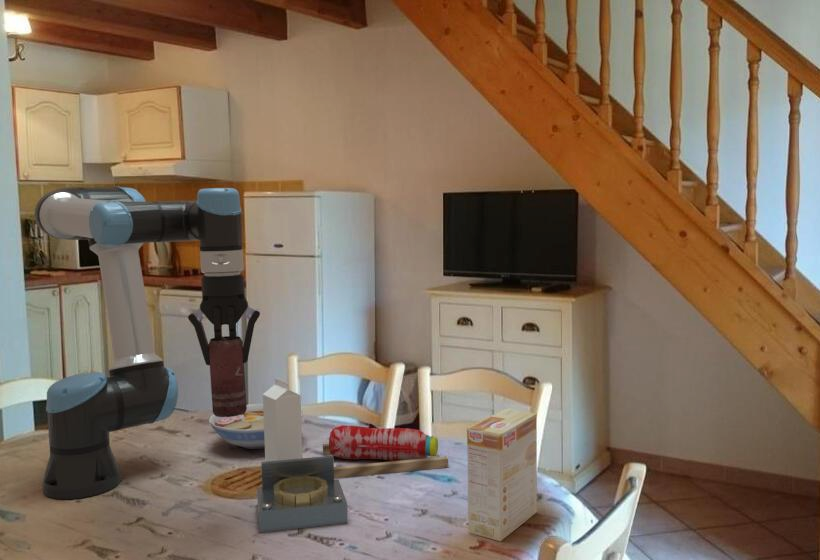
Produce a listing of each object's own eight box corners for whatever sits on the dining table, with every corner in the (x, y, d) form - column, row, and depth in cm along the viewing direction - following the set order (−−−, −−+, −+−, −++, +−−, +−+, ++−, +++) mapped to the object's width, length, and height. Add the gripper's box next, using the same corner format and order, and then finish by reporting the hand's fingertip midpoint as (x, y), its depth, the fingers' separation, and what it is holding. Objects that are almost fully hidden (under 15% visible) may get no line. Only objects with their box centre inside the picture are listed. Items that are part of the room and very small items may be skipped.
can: (233, 407, 142) (228, 334, 141) (253, 411, 138) (249, 336, 137) (205, 414, 138) (200, 338, 136) (225, 419, 133) (220, 341, 132)
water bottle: (341, 419, 183) (442, 424, 178) (340, 452, 182) (442, 458, 178) (326, 426, 171) (435, 431, 166) (325, 461, 170) (434, 467, 166)
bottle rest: (331, 478, 162) (331, 469, 161) (322, 452, 179) (322, 444, 178) (448, 467, 167) (448, 458, 167) (428, 443, 184) (428, 435, 184)
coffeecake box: (505, 504, 147) (505, 407, 145) (538, 512, 143) (538, 412, 140) (465, 532, 134) (465, 427, 132) (501, 542, 130) (501, 433, 128)
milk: (278, 488, 157) (274, 385, 154) (265, 479, 162) (261, 379, 159) (304, 480, 161) (300, 380, 158) (290, 473, 165) (287, 375, 163)
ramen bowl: (226, 429, 198) (224, 399, 197) (312, 429, 197) (311, 398, 196) (195, 462, 173) (193, 427, 172) (293, 462, 172) (292, 427, 171)
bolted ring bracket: (259, 532, 136) (257, 484, 135) (257, 506, 147) (256, 462, 146) (347, 523, 139) (346, 476, 138) (338, 498, 151) (337, 455, 150)
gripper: (182, 277, 131) (190, 409, 133) (259, 273, 133) (265, 403, 135) (187, 273, 138) (193, 399, 140) (259, 270, 141) (265, 394, 143)
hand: (228, 401), depth 138 cm, fingers closed
